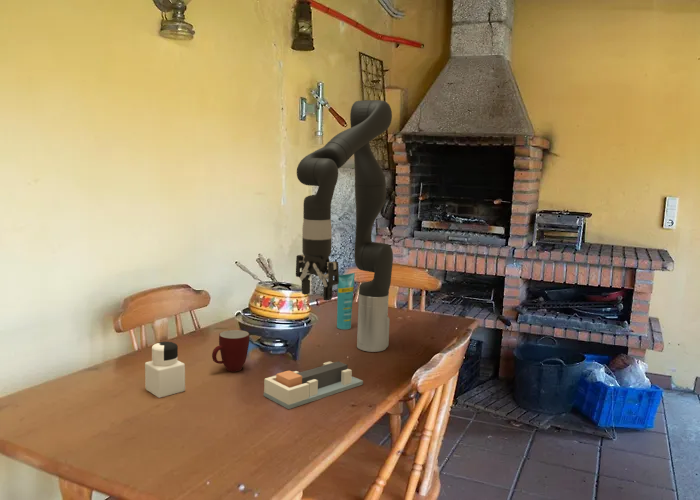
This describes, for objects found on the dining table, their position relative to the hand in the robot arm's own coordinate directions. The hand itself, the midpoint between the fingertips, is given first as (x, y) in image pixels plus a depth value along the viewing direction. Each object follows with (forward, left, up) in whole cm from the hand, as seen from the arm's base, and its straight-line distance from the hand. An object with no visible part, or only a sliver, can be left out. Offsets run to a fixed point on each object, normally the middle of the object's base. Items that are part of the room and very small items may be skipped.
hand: (316, 296), depth 156 cm
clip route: (+6, +7, -22) cm, 24 cm away
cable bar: (+6, +7, -21) cm, 23 cm away
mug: (+15, -18, -22) cm, 32 cm away
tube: (-38, -29, -22) cm, 53 cm away
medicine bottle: (+35, -16, -22) cm, 44 cm away
